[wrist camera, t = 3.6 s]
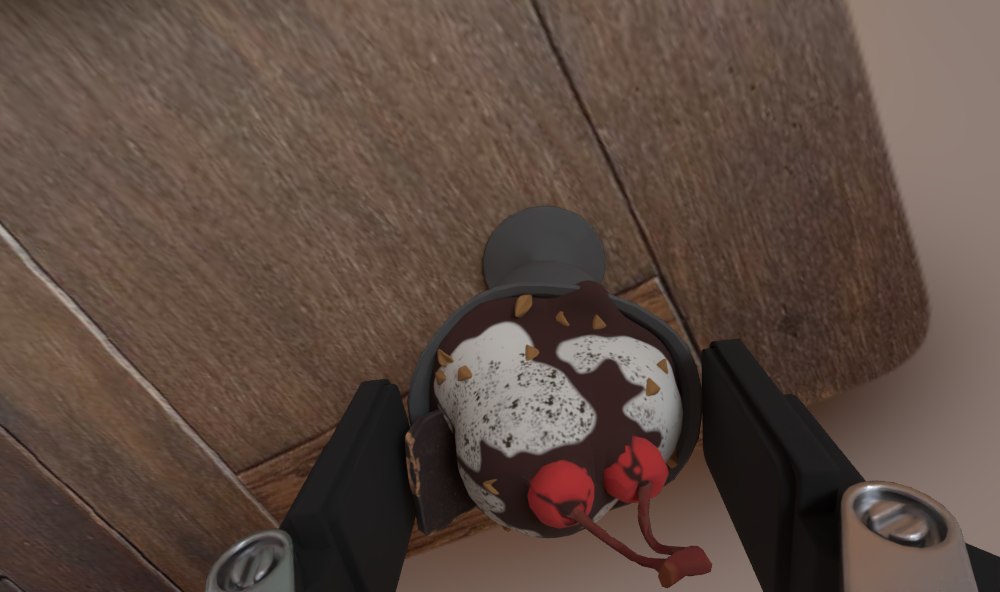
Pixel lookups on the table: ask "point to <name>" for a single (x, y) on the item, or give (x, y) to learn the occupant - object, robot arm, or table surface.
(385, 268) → the table surface
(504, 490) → the sundae
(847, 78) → the table surface
